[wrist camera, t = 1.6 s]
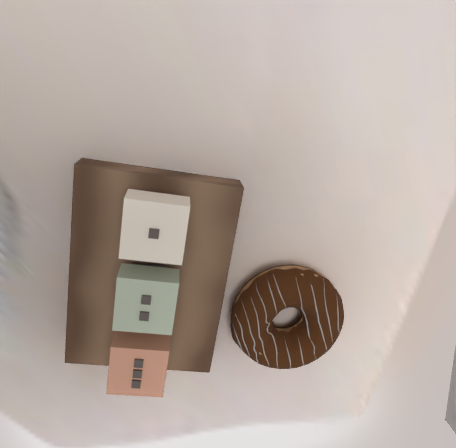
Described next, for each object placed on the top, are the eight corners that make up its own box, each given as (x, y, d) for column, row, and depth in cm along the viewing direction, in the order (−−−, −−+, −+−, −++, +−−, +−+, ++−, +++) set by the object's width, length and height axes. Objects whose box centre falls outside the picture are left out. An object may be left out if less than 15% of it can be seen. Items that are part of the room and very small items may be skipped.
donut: (352, 272, 40) (370, 293, 36) (312, 361, 43) (324, 388, 40) (248, 245, 38) (255, 264, 34) (214, 340, 41) (217, 367, 37)
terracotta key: (111, 373, 36) (105, 395, 33) (115, 328, 34) (110, 348, 32) (163, 377, 36) (162, 398, 34) (170, 333, 35) (169, 352, 32)
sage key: (116, 313, 34) (111, 332, 31) (121, 263, 32) (116, 278, 30) (172, 318, 34) (171, 336, 32) (179, 269, 33) (179, 285, 30)
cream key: (122, 245, 32) (118, 259, 29) (128, 188, 30) (123, 198, 28) (181, 251, 32) (182, 266, 30) (189, 196, 31) (190, 207, 29)
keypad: (71, 345, 39) (59, 376, 35) (81, 158, 33) (68, 169, 29) (207, 355, 41) (210, 386, 37) (239, 180, 35) (247, 194, 31)
